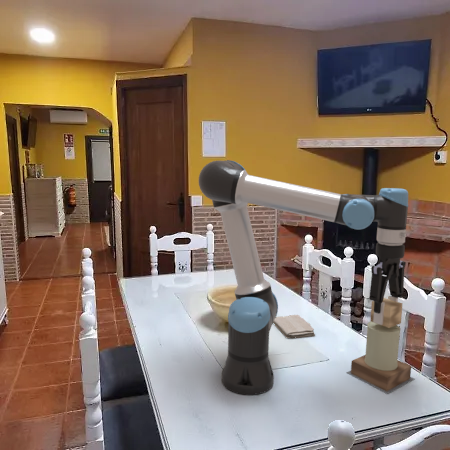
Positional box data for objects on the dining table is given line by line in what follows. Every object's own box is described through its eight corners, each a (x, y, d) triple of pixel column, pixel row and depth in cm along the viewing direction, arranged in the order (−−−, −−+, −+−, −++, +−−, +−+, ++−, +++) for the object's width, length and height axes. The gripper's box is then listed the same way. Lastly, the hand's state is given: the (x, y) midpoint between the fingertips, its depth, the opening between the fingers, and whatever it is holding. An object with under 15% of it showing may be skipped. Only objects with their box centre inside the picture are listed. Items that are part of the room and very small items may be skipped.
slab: (386, 391, 113) (387, 378, 113) (350, 373, 123) (351, 360, 122) (410, 378, 120) (411, 365, 120) (374, 362, 130) (375, 350, 129)
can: (400, 372, 116) (404, 332, 114) (366, 369, 117) (369, 329, 116) (394, 357, 125) (397, 320, 123) (362, 354, 126) (365, 317, 125)
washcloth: (287, 341, 147) (288, 332, 146) (269, 322, 164) (269, 314, 163) (317, 337, 150) (317, 329, 149) (296, 319, 167) (296, 312, 166)
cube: (389, 327, 115) (390, 307, 114) (370, 321, 119) (371, 301, 118) (401, 323, 118) (402, 303, 117) (382, 317, 123) (383, 297, 122)
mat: (387, 395, 112) (387, 394, 112) (345, 373, 123) (345, 372, 123) (415, 380, 120) (415, 378, 120) (373, 361, 131) (373, 360, 131)
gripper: (382, 249, 107) (377, 332, 110) (421, 241, 118) (414, 317, 121) (358, 244, 113) (353, 323, 116) (397, 237, 124) (391, 310, 127)
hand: (384, 320), depth 119 cm, fingers closed on cube, 6 cm apart
